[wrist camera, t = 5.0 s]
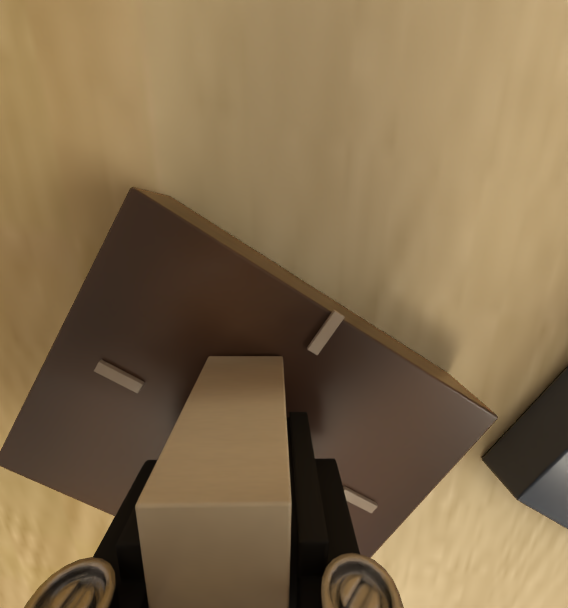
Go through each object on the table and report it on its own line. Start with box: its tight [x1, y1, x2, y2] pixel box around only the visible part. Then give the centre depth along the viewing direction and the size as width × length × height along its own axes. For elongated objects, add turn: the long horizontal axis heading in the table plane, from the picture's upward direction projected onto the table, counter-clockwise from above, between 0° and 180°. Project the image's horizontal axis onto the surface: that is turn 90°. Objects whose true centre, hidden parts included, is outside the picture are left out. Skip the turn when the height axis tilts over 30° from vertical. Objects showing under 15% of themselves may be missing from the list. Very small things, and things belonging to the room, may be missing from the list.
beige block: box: [135, 356, 292, 608], centre depth 7 cm, size 6×2×5 cm, turn 179°
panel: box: [0, 187, 498, 558], centre depth 11 cm, size 13×10×3 cm
